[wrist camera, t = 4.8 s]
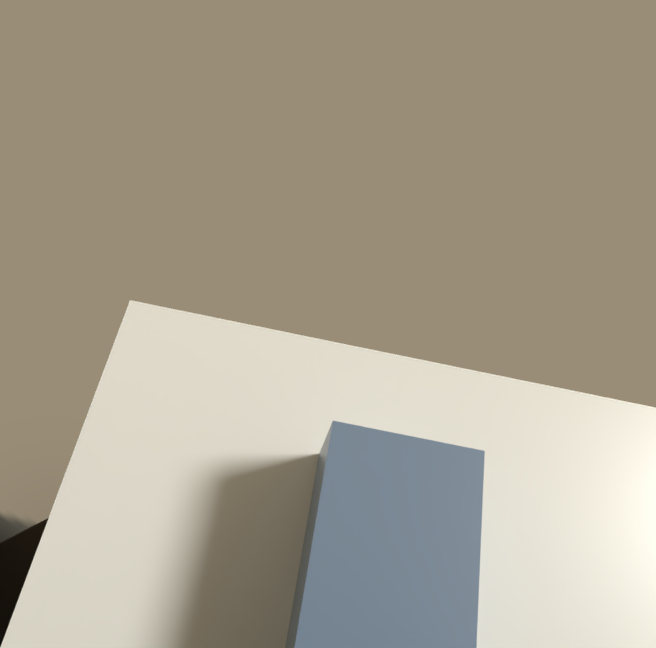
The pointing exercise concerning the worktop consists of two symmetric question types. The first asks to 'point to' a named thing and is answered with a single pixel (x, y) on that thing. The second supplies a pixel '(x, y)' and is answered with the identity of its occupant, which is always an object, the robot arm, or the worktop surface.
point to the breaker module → (340, 503)
